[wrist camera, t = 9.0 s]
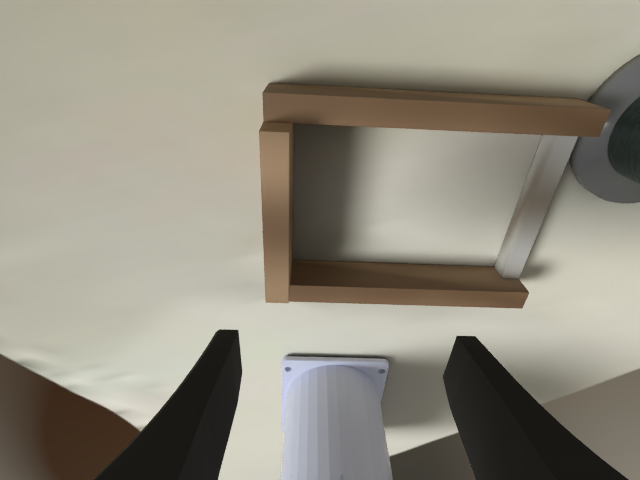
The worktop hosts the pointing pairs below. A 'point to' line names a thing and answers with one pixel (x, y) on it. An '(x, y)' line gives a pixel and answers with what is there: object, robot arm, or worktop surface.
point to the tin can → (626, 143)
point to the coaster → (592, 151)
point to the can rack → (412, 113)
